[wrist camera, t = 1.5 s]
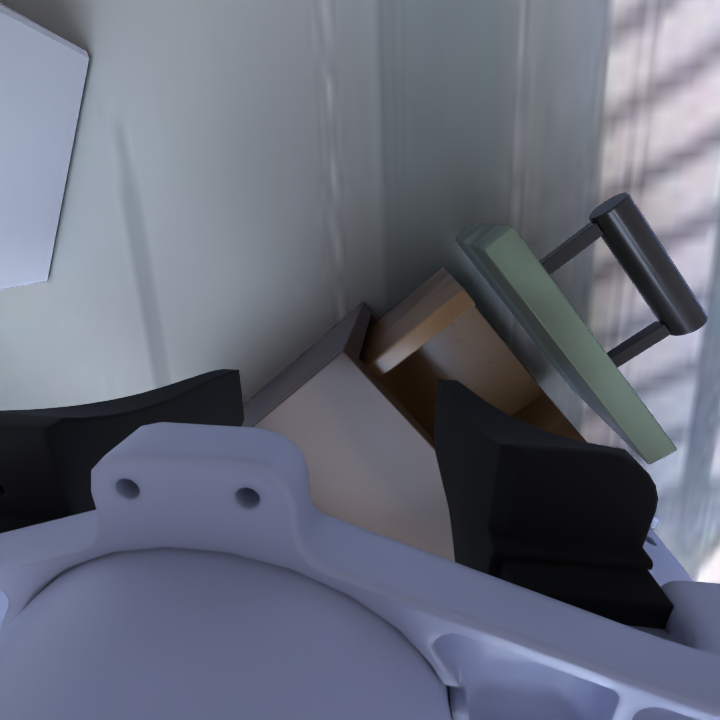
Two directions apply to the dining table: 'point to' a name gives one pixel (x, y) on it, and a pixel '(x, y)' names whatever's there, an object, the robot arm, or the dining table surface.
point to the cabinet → (357, 441)
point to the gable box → (34, 141)
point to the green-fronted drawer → (534, 330)
